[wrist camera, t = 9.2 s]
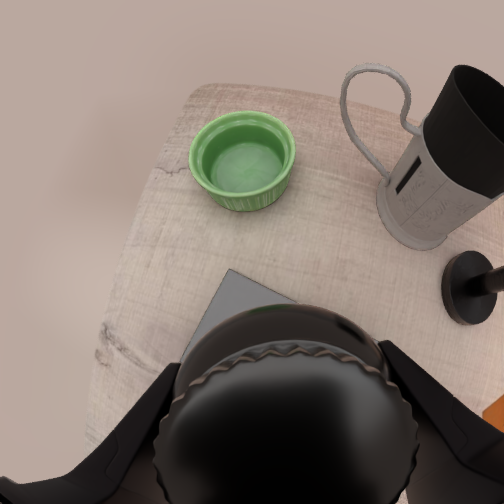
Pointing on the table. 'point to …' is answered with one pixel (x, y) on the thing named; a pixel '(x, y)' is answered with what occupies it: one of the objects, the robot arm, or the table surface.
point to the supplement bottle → (286, 415)
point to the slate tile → (235, 303)
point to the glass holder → (441, 158)
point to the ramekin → (243, 159)
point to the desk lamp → (471, 287)
